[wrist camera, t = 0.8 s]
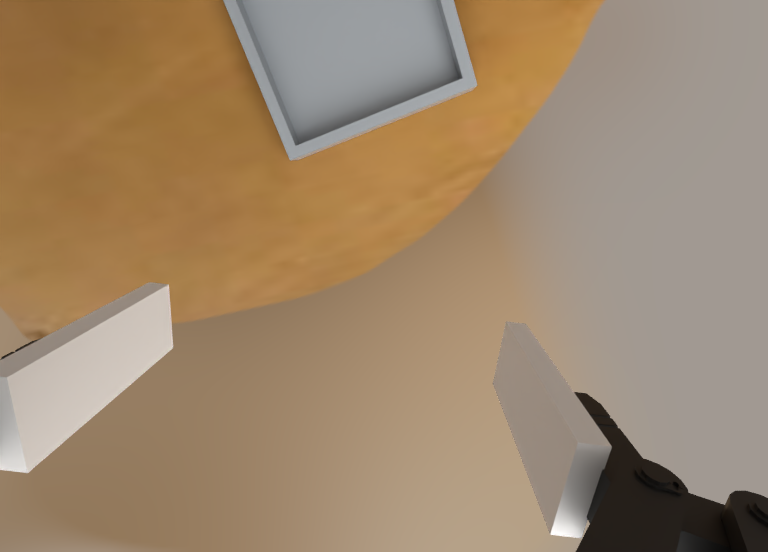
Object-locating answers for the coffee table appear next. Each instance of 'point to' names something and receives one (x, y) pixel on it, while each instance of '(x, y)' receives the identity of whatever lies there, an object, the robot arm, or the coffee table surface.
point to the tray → (350, 63)
